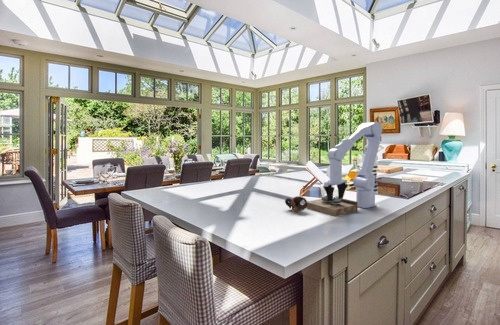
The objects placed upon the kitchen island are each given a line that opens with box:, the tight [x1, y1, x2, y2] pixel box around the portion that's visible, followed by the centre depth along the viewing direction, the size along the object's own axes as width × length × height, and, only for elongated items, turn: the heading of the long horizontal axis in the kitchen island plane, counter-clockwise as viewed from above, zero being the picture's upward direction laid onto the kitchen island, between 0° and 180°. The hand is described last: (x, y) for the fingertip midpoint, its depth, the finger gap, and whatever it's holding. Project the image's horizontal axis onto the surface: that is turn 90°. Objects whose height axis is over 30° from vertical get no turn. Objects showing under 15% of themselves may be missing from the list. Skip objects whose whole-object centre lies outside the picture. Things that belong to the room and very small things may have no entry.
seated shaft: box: [320, 193, 330, 203], centre depth 152 cm, size 5×5×7 cm
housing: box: [306, 197, 359, 217], centre depth 150 cm, size 16×20×4 cm
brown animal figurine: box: [284, 196, 308, 214], centre depth 148 cm, size 12×10×8 cm
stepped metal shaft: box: [330, 195, 341, 206], centre depth 147 cm, size 5×5×7 cm
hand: (335, 199), depth 147 cm, fingers open, 7 cm apart
